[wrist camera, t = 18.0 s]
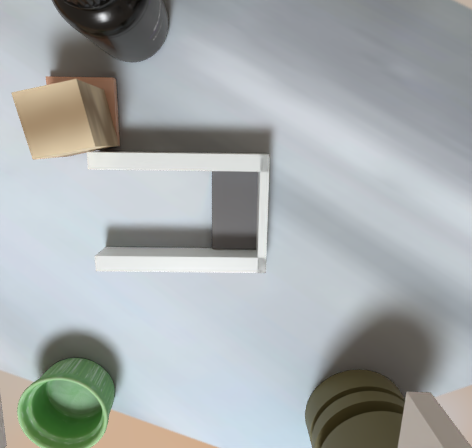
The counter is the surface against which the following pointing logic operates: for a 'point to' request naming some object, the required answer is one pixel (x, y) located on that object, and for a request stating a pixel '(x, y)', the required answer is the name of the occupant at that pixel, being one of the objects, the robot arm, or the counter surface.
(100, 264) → the channel
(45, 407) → the ramekin
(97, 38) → the supplement bottle
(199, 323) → the counter surface
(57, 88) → the block
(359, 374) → the piston
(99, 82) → the tile
